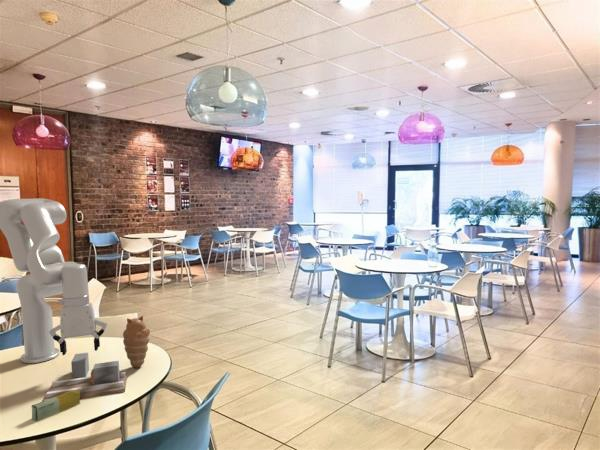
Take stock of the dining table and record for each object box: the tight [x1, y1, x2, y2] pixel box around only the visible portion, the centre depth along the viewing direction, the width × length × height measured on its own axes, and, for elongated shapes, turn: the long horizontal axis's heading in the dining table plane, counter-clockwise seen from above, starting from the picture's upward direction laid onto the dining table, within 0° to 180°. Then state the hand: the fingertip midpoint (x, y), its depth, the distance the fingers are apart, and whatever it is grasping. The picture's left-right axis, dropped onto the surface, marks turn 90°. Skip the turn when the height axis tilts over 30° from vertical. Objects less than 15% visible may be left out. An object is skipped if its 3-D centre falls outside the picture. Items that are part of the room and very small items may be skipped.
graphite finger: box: [71, 352, 90, 379], centre depth 145 cm, size 4×8×6 cm, turn 18°
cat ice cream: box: [122, 315, 151, 369], centre depth 148 cm, size 9×8×18 cm
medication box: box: [31, 390, 81, 422], centre depth 120 cm, size 12×3×4 cm, turn 142°
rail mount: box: [42, 360, 128, 402], centre depth 133 cm, size 22×12×7 cm, turn 108°
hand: (80, 351), depth 143 cm, fingers open, 9 cm apart
